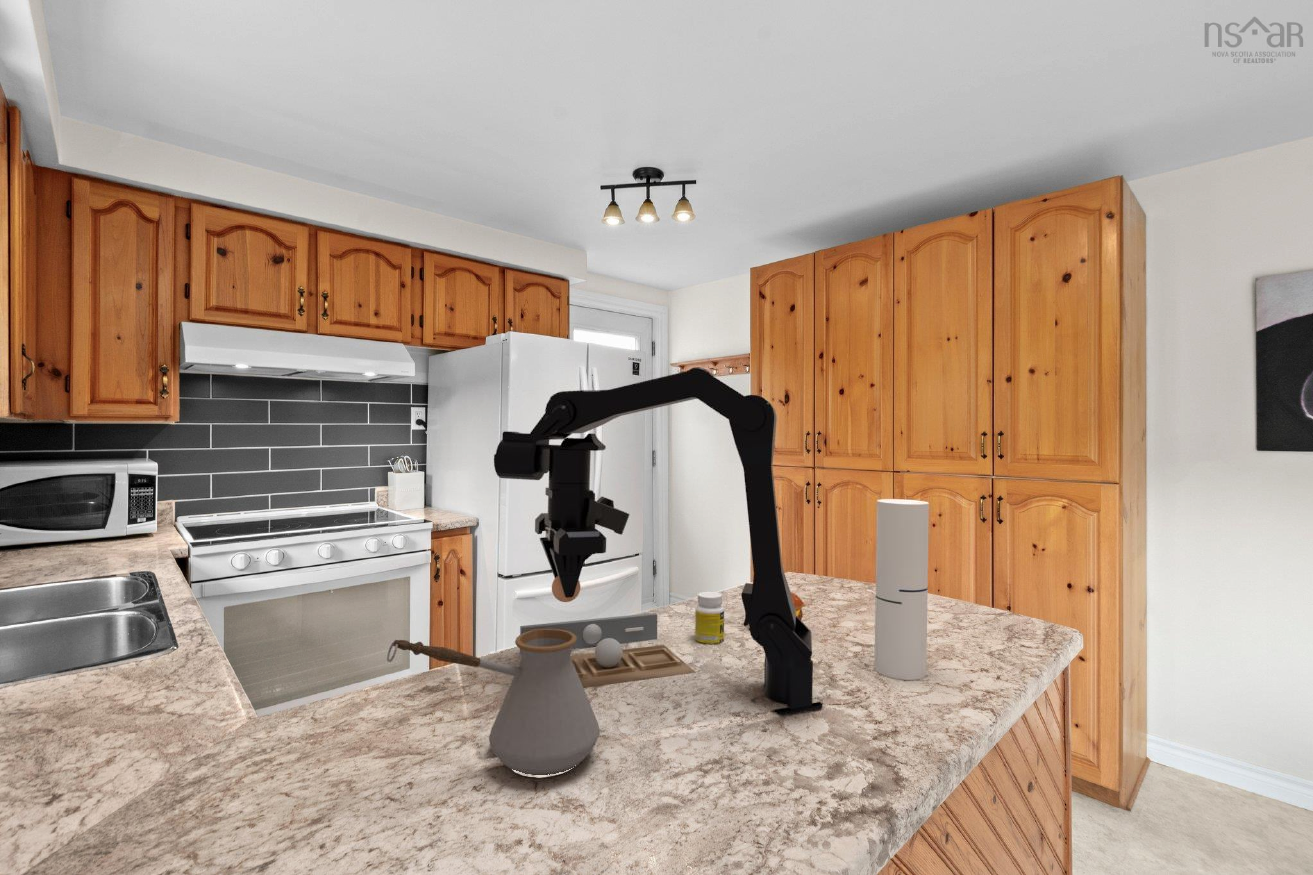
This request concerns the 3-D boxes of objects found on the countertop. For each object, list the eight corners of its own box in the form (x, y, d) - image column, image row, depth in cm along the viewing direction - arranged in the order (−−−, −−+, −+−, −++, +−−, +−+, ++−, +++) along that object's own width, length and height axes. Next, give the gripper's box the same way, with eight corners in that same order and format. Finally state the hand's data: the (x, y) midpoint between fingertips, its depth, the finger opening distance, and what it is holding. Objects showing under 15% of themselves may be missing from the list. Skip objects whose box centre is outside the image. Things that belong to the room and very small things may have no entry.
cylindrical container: (931, 682, 89) (934, 505, 88) (878, 677, 90) (880, 503, 90) (920, 663, 96) (923, 500, 95) (871, 659, 97) (873, 498, 97)
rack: (695, 679, 88) (695, 667, 88) (539, 701, 80) (539, 688, 80) (663, 651, 100) (664, 641, 100) (524, 668, 92) (524, 657, 92)
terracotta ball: (583, 604, 87) (583, 575, 87) (554, 606, 85) (555, 577, 85) (576, 596, 91) (577, 569, 90) (548, 598, 89) (549, 570, 89)
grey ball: (626, 669, 89) (626, 641, 89) (598, 673, 87) (599, 644, 87) (617, 660, 93) (617, 633, 93) (591, 663, 91) (591, 636, 91)
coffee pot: (573, 724, 74) (575, 598, 74) (617, 770, 64) (619, 624, 64) (378, 771, 63) (379, 624, 63) (394, 835, 54) (396, 660, 53)
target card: (657, 645, 102) (658, 614, 102) (521, 661, 94) (521, 628, 94) (654, 643, 103) (655, 612, 103) (519, 658, 95) (520, 626, 95)
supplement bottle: (725, 651, 100) (725, 598, 100) (695, 650, 100) (696, 597, 100) (722, 641, 105) (723, 590, 105) (694, 640, 105) (694, 590, 105)
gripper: (645, 488, 82) (642, 607, 82) (606, 476, 99) (603, 575, 100) (561, 488, 78) (557, 613, 78) (535, 476, 95) (532, 578, 96)
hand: (565, 593), depth 88 cm, fingers closed on terracotta ball, 4 cm apart
